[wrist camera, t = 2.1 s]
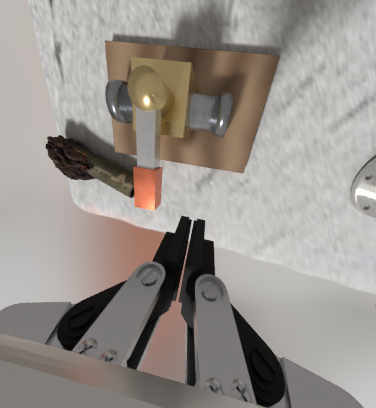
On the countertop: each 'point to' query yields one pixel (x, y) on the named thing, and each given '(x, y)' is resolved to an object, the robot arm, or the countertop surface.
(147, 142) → the valve lever
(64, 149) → the olive brown elongated lump
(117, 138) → the mounting board
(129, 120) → the pipe and valve
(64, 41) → the countertop surface
